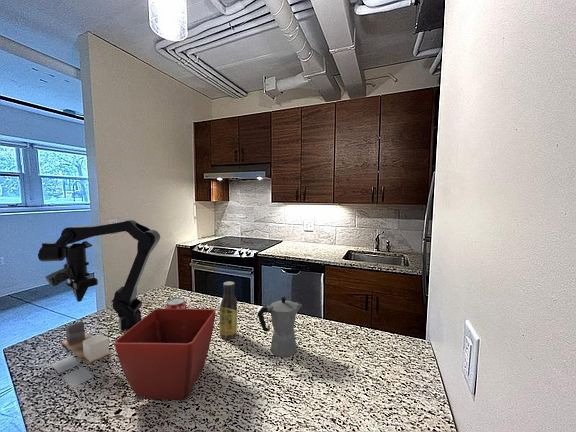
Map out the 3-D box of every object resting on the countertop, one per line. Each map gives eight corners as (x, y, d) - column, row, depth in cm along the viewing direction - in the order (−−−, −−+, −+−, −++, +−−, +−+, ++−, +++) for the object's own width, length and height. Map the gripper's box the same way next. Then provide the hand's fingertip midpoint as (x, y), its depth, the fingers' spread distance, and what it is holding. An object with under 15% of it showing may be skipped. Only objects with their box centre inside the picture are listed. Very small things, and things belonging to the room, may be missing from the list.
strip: (61, 343, 89) (60, 327, 89) (85, 334, 95) (84, 319, 94) (87, 366, 77) (86, 348, 77) (113, 354, 83) (112, 337, 82)
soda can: (179, 341, 91) (178, 305, 90) (162, 339, 92) (160, 304, 91) (191, 331, 98) (190, 298, 97) (174, 329, 99) (173, 296, 98)
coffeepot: (296, 338, 93) (296, 289, 92) (307, 353, 84) (307, 299, 83) (254, 346, 88) (254, 295, 87) (261, 363, 79) (261, 306, 78)
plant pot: (157, 359, 81) (155, 307, 80) (217, 360, 81) (216, 308, 79) (115, 409, 62) (111, 342, 61) (193, 411, 62) (191, 344, 60)
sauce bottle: (216, 338, 93) (214, 284, 92) (226, 329, 99) (225, 279, 97) (231, 341, 91) (230, 286, 89) (241, 333, 97) (240, 281, 95)
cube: (83, 356, 81) (82, 340, 80) (102, 348, 85) (101, 333, 85) (90, 361, 78) (89, 346, 78) (108, 353, 82) (108, 338, 82)
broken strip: (50, 367, 77) (50, 364, 77) (71, 358, 81) (71, 355, 81) (72, 391, 68) (71, 387, 68) (94, 380, 72) (94, 376, 72)
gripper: (39, 261, 93) (42, 303, 94) (56, 269, 83) (60, 316, 84) (77, 255, 102) (79, 293, 104) (97, 262, 92) (99, 304, 93)
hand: (79, 301), depth 96 cm, fingers closed
